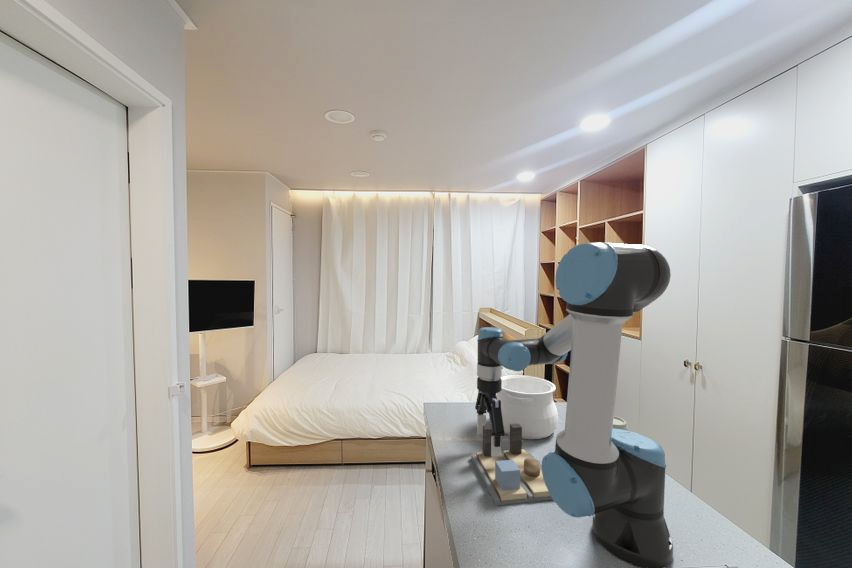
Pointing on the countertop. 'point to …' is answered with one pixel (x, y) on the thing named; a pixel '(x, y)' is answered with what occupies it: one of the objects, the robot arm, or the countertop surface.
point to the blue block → (507, 475)
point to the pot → (528, 405)
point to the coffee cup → (619, 423)
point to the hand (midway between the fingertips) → (488, 444)
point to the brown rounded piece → (531, 467)
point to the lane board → (493, 492)
